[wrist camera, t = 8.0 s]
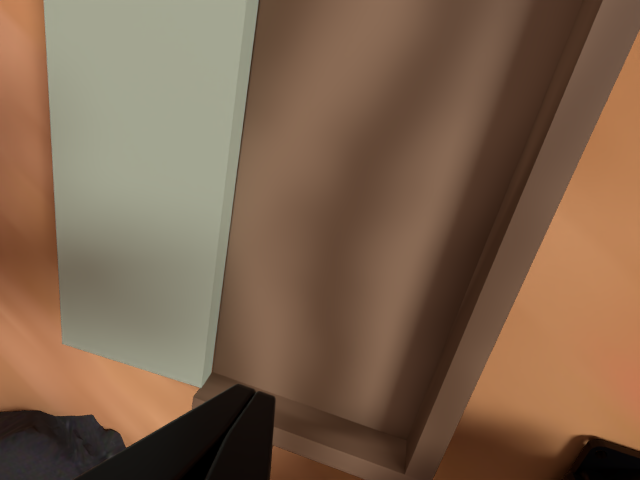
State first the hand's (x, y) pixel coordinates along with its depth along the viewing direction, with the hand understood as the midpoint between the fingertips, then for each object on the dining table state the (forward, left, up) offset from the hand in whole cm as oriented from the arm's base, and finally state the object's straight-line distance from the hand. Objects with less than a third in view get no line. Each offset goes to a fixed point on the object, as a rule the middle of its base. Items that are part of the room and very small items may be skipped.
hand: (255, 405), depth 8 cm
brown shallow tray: (-1, -2, -12) cm, 12 cm away
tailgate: (+5, -2, -10) cm, 12 cm away
